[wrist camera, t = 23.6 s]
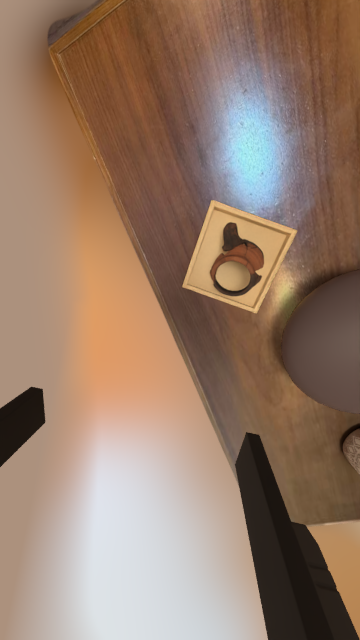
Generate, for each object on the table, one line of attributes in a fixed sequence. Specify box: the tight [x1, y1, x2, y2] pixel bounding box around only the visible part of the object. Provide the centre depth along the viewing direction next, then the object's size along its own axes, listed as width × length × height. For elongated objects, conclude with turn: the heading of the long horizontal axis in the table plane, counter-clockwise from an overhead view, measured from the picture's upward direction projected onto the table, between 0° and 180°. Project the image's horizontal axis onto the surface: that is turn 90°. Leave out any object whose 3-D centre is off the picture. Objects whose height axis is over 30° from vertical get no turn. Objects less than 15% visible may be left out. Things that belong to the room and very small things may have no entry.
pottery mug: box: [210, 222, 264, 296], centre depth 31 cm, size 12×10×8 cm
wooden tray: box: [182, 200, 297, 313], centre depth 33 cm, size 16×16×2 cm
